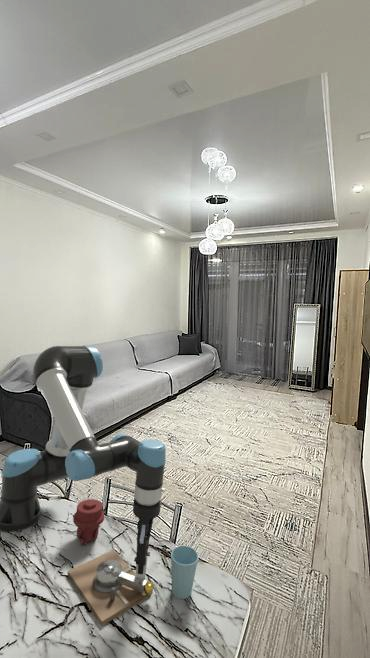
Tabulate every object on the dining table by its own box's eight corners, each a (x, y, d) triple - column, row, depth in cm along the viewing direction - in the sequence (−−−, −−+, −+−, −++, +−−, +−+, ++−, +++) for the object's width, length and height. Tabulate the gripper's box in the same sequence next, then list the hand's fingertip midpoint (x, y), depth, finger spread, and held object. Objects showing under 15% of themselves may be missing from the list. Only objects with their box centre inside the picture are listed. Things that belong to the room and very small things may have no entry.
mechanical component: (107, 532, 114) (93, 552, 104) (81, 526, 116) (65, 545, 106) (110, 497, 114) (97, 514, 104) (84, 492, 116) (68, 507, 106)
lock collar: (105, 565, 97) (106, 554, 96) (157, 585, 91) (158, 574, 91) (90, 582, 90) (91, 571, 90) (146, 605, 84) (147, 593, 84)
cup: (187, 607, 87) (191, 569, 87) (162, 594, 91) (166, 557, 90) (199, 588, 94) (202, 552, 94) (175, 576, 97) (178, 542, 97)
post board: (67, 574, 94) (68, 561, 94) (113, 553, 105) (114, 540, 104) (101, 626, 80) (103, 610, 80) (151, 595, 90) (152, 580, 90)
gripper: (158, 514, 84) (150, 603, 84) (163, 487, 96) (156, 565, 97) (129, 510, 84) (121, 599, 85) (138, 485, 97) (131, 562, 98)
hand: (139, 581), depth 91 cm, fingers closed
